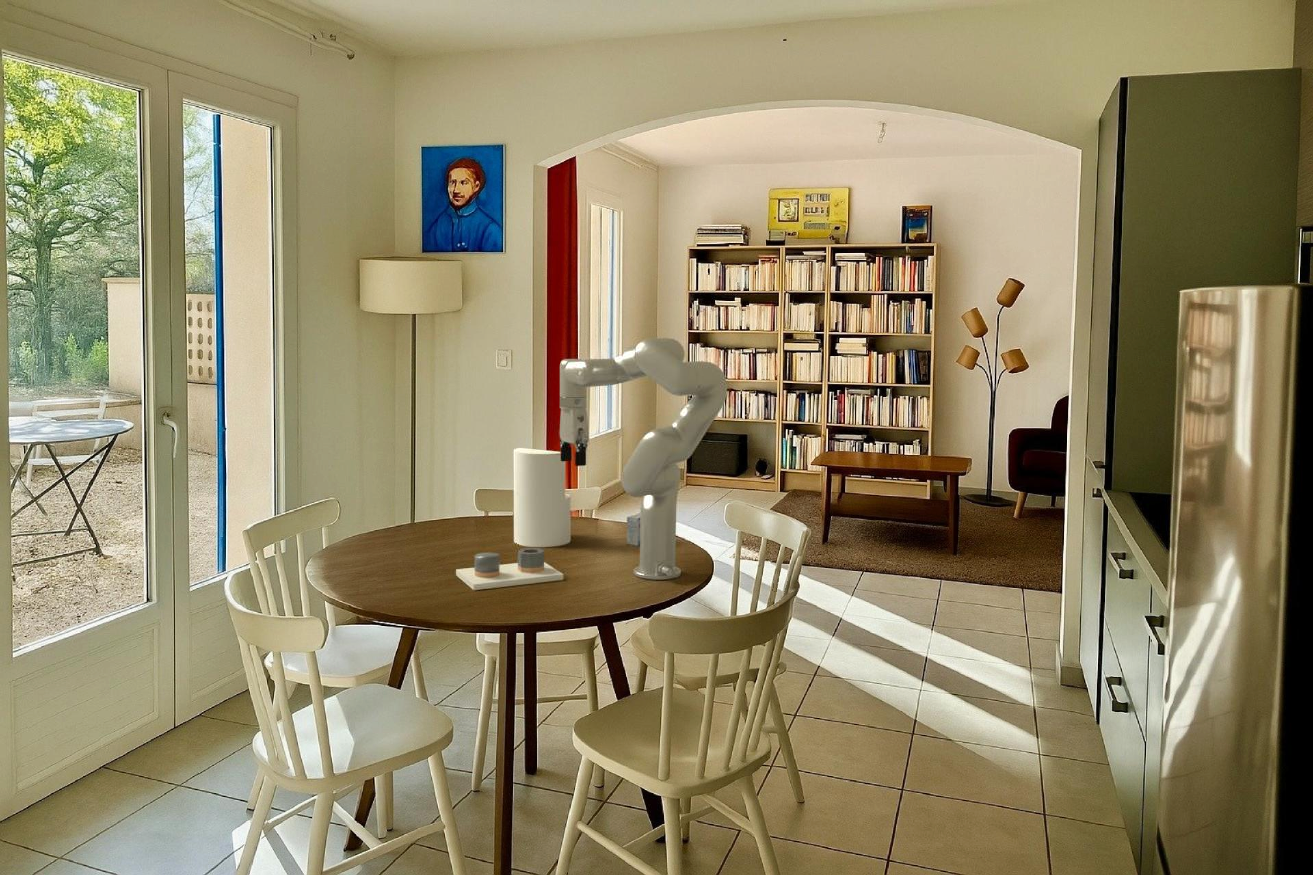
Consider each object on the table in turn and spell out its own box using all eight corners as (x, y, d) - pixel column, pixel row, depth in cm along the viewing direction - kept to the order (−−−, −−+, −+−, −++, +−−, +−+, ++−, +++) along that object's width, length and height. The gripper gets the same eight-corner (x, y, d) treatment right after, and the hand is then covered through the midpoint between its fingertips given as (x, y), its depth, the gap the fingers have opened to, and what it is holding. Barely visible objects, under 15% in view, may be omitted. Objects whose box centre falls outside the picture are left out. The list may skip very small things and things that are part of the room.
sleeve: (546, 571, 259) (546, 552, 259) (523, 573, 256) (523, 554, 256) (538, 565, 265) (538, 547, 264) (515, 567, 262) (515, 549, 261)
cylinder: (547, 549, 289) (547, 455, 286) (502, 542, 298) (501, 450, 295) (581, 539, 304) (582, 449, 301) (537, 532, 313) (537, 444, 310)
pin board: (563, 579, 256) (563, 555, 256) (473, 590, 246) (473, 564, 245) (541, 565, 270) (541, 542, 270) (456, 574, 260) (455, 550, 259)
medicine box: (637, 546, 295) (638, 518, 294) (626, 544, 298) (626, 516, 297) (653, 541, 301) (654, 514, 300) (642, 539, 304) (642, 512, 303)
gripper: (598, 405, 271) (598, 466, 273) (572, 400, 286) (572, 458, 288) (573, 406, 267) (573, 468, 269) (548, 401, 282) (548, 460, 284)
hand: (573, 463), depth 278 cm, fingers open, 9 cm apart
